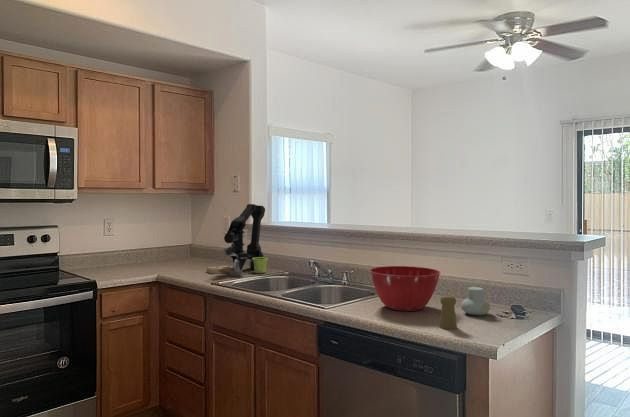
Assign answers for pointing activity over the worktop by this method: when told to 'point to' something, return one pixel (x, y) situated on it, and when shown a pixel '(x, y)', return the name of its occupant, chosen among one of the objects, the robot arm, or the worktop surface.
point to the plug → (237, 267)
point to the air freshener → (475, 302)
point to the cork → (448, 312)
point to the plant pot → (260, 264)
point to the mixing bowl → (404, 286)
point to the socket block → (220, 269)
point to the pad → (237, 274)
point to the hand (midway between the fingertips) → (238, 268)
